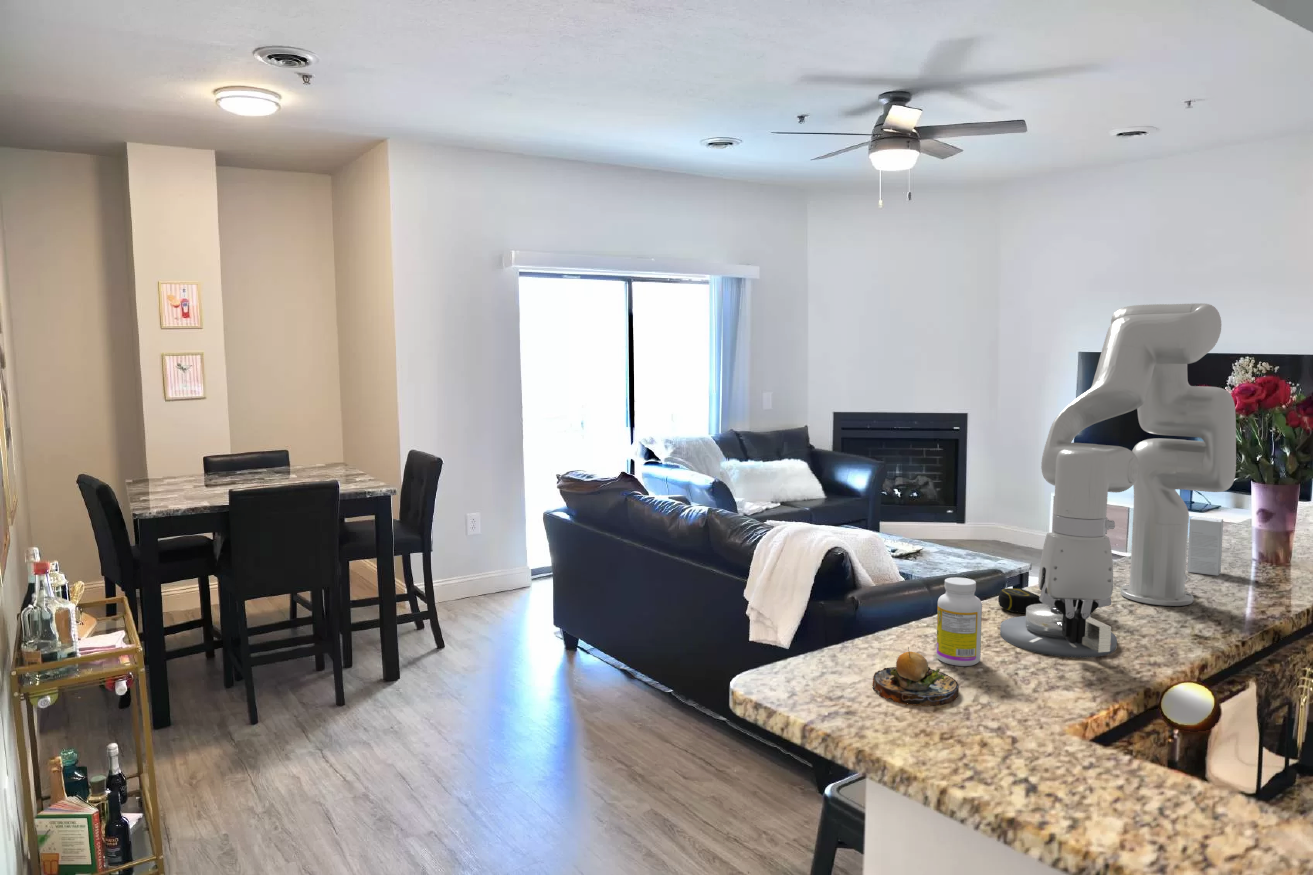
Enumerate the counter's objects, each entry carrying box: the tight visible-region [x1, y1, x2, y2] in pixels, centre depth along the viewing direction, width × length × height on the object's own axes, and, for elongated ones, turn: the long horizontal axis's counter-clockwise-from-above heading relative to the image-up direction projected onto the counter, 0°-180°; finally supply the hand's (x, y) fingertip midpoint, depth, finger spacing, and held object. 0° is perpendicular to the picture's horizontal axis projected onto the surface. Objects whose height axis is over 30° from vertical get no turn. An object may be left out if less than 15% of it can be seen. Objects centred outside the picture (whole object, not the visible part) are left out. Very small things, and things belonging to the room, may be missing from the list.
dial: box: [1025, 604, 1112, 652], centre depth 148 cm, size 17×10×4 cm, turn 10°
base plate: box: [999, 615, 1118, 659], centre depth 152 cm, size 18×18×2 cm
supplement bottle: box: [936, 576, 983, 667], centre depth 141 cm, size 7×7×13 cm
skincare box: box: [1187, 516, 1224, 577], centre depth 197 cm, size 6×4×12 cm
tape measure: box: [997, 587, 1043, 614], centre depth 169 cm, size 7×7×4 cm
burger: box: [872, 646, 960, 707], centre depth 129 cm, size 12×12×8 cm
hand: (1073, 640), depth 143 cm, fingers closed
